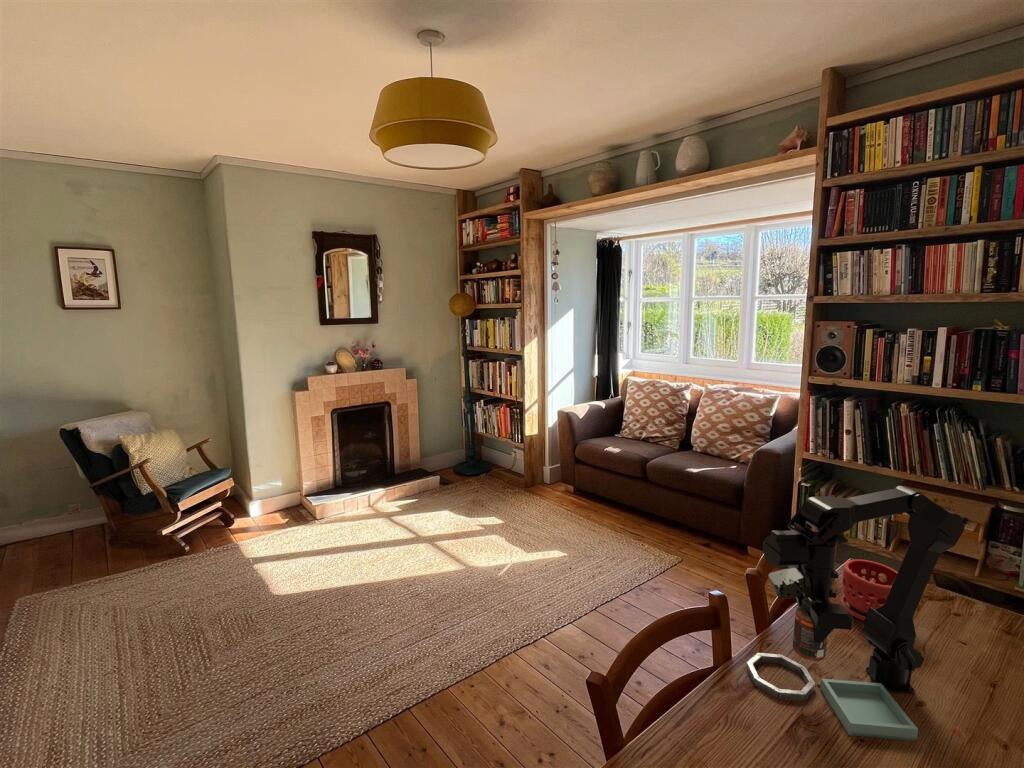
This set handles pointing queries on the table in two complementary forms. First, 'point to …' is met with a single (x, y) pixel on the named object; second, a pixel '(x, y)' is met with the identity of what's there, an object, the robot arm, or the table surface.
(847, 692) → the tray
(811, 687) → the holder ring
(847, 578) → the plant pot
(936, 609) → the table surface
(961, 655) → the table surface
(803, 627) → the supplement bottle
